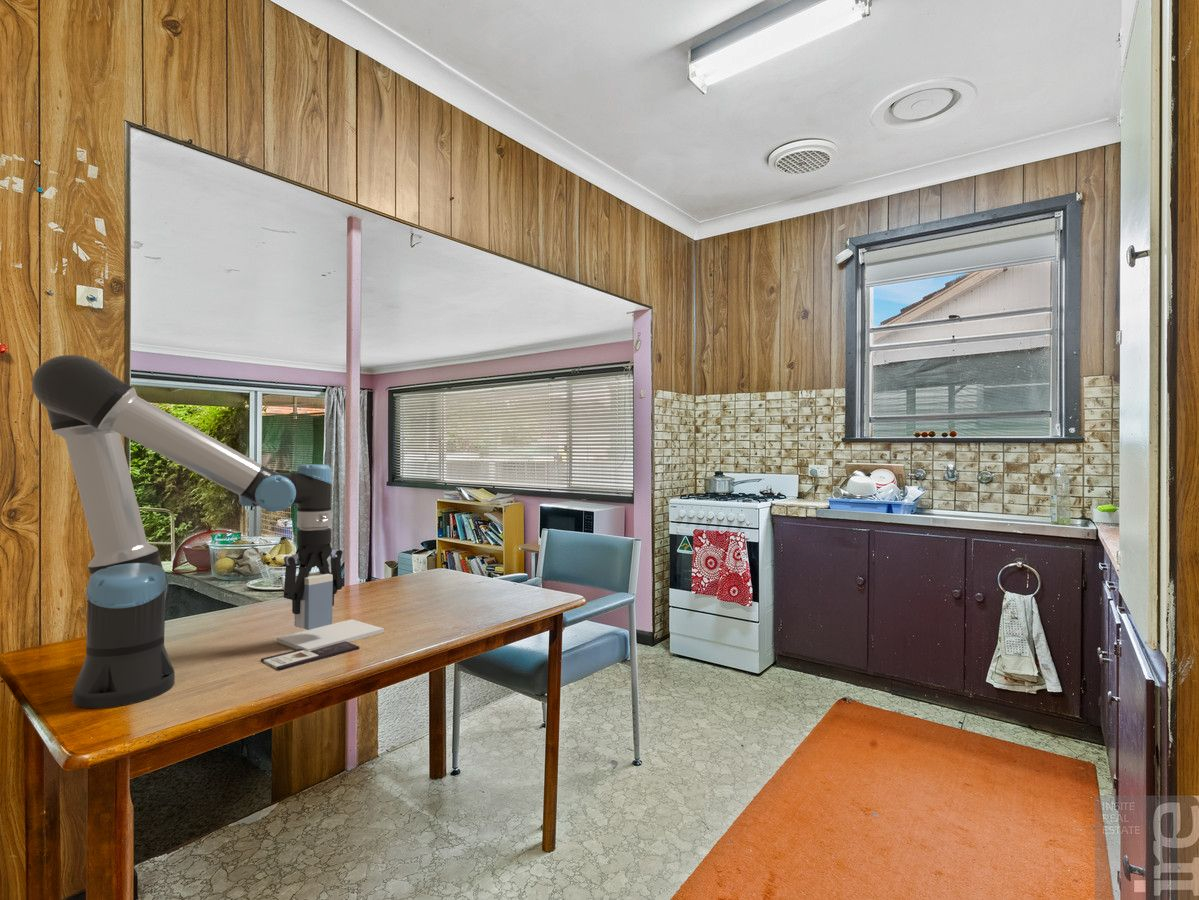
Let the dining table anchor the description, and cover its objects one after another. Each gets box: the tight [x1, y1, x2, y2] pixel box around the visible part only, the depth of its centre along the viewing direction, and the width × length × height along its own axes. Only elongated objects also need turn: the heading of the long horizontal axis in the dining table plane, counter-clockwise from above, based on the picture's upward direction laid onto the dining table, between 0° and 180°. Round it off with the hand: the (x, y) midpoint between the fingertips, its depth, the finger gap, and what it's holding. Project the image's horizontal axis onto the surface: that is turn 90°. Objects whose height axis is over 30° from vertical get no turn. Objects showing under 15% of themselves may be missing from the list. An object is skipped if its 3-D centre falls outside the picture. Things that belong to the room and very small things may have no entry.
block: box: [295, 571, 333, 630], centre depth 144 cm, size 6×6×12 cm
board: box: [275, 618, 385, 652], centre depth 148 cm, size 20×14×1 cm
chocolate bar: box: [260, 641, 360, 671], centre depth 135 cm, size 9×1×18 cm
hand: (313, 623), depth 144 cm, fingers closed on block, 6 cm apart
